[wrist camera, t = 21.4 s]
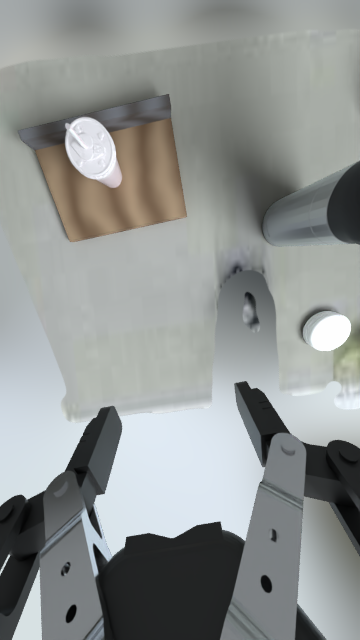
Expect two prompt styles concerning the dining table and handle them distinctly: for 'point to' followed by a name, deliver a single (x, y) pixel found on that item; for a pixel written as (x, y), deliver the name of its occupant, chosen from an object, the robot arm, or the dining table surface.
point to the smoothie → (92, 151)
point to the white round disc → (326, 330)
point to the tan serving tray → (135, 164)
